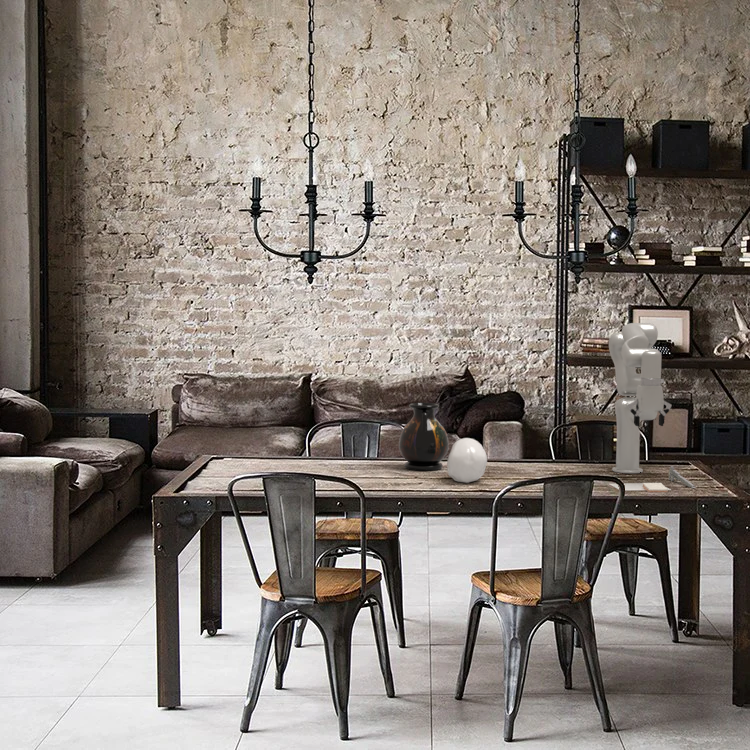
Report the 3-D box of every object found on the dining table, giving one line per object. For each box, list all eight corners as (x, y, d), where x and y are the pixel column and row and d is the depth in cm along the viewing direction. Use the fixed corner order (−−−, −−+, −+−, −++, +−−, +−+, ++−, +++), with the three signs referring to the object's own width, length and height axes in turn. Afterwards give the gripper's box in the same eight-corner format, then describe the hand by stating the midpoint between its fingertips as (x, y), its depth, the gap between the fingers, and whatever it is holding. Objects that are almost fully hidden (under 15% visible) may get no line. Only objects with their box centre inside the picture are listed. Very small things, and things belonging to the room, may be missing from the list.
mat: (607, 485, 397) (607, 483, 396) (657, 484, 398) (657, 483, 398) (620, 492, 382) (620, 490, 382) (671, 491, 383) (671, 489, 383)
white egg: (480, 466, 420) (485, 427, 406) (485, 501, 404) (491, 462, 391) (442, 466, 420) (446, 426, 406) (446, 501, 404) (450, 461, 390)
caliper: (668, 480, 409) (668, 465, 408) (670, 480, 409) (671, 465, 409) (693, 489, 389) (694, 473, 388) (696, 489, 389) (696, 473, 389)
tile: (642, 482, 386) (660, 482, 386) (642, 486, 386) (660, 486, 387) (649, 489, 378) (667, 489, 379) (649, 493, 379) (667, 493, 379)
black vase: (449, 472, 424) (450, 406, 422) (398, 472, 425) (399, 406, 423) (447, 464, 446) (447, 401, 444) (398, 464, 446) (399, 401, 444)
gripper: (668, 381, 398) (666, 423, 400) (625, 381, 396) (624, 424, 398) (675, 383, 390) (674, 427, 392) (632, 383, 388) (630, 427, 390)
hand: (649, 425), depth 395 cm, fingers open, 9 cm apart
